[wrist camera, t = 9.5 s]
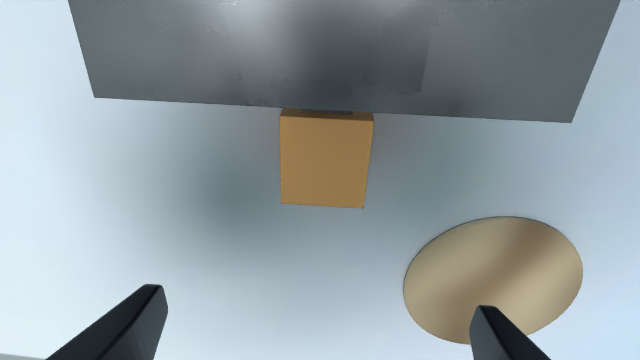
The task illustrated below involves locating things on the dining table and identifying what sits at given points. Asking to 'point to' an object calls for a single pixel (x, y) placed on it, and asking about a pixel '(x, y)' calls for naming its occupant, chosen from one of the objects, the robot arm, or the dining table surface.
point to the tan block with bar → (324, 156)
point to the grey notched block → (349, 54)
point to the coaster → (492, 276)
